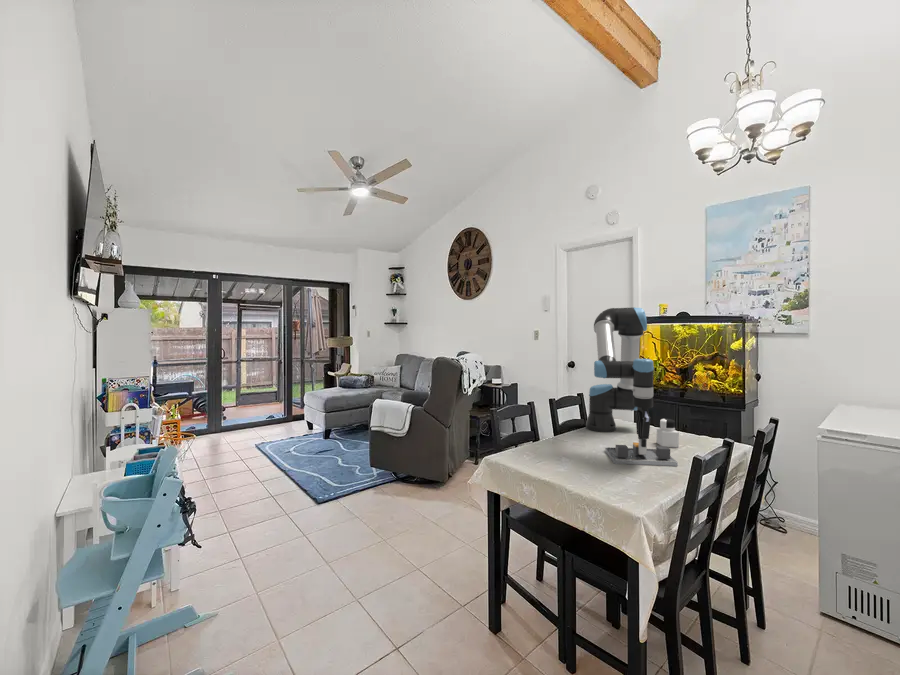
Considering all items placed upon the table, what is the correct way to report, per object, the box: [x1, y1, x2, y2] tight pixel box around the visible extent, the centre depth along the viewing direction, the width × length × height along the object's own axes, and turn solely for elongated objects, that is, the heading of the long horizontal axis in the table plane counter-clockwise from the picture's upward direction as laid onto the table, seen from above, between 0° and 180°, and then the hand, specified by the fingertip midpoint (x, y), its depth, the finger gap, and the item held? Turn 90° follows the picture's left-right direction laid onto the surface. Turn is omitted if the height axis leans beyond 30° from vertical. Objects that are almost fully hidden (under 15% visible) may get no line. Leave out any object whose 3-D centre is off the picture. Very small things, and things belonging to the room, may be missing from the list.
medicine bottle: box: [655, 418, 680, 448], centre depth 188 cm, size 7×7×12 cm
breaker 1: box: [615, 444, 629, 458], centre depth 168 cm, size 4×4×4 cm
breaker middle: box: [632, 442, 642, 455], centre depth 171 cm, size 4×4×4 cm
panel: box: [604, 447, 679, 467], centre depth 171 cm, size 16×24×2 cm, turn 81°
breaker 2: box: [655, 445, 671, 459], centre depth 166 cm, size 4×4×4 cm
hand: (642, 453), depth 167 cm, fingers closed
